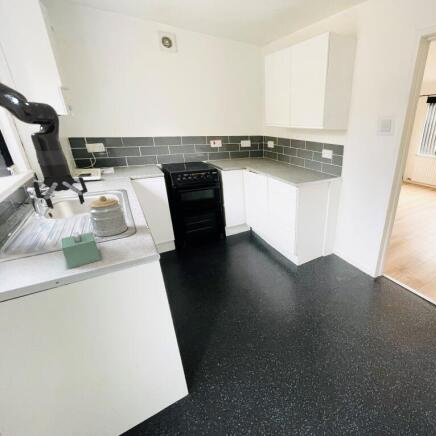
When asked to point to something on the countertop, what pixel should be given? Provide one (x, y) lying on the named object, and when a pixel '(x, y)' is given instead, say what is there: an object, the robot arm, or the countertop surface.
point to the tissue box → (80, 249)
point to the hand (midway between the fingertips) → (67, 206)
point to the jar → (107, 217)
